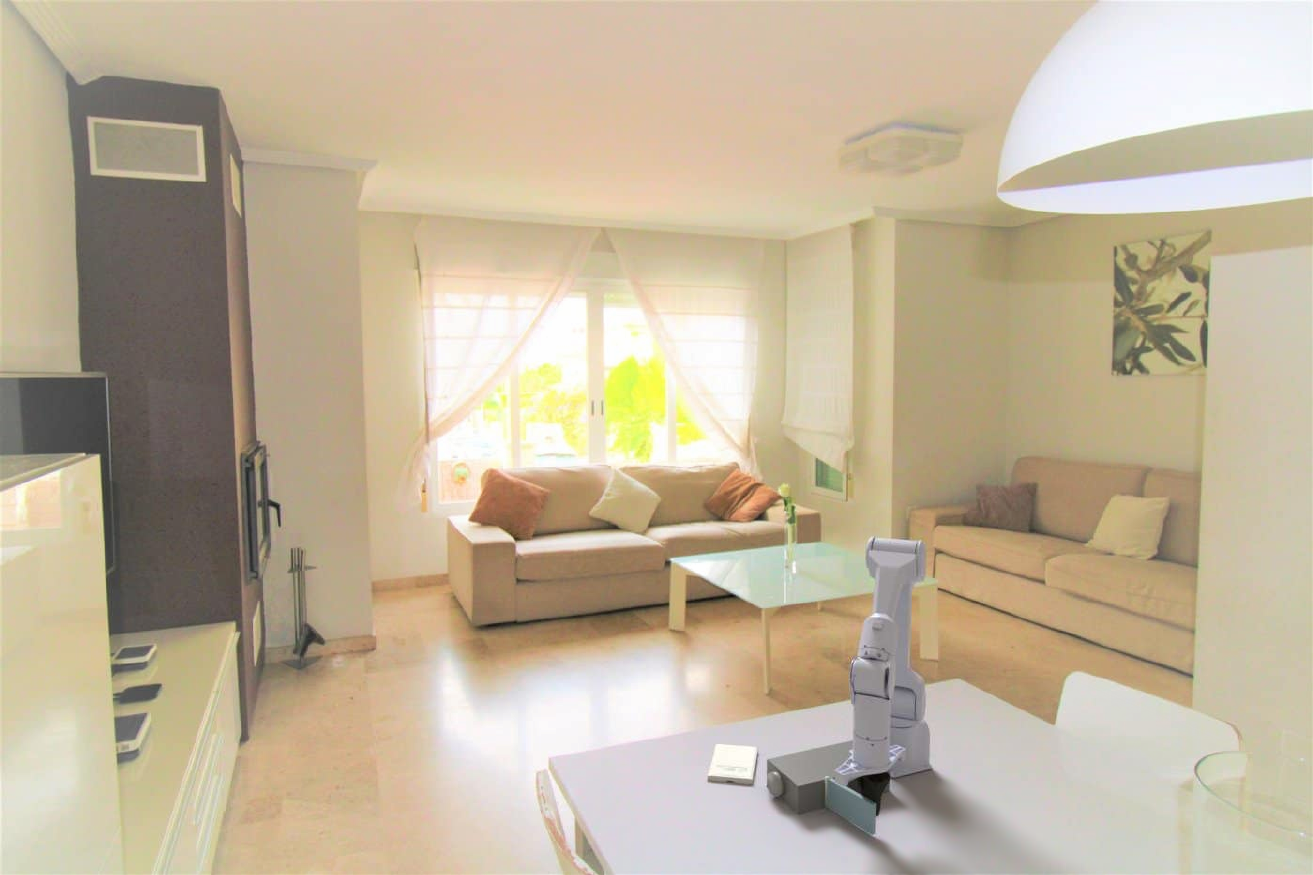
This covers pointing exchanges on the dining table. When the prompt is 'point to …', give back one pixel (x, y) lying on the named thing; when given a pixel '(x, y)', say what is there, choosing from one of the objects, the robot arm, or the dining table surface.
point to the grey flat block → (808, 776)
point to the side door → (850, 805)
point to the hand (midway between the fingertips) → (870, 814)
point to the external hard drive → (733, 764)
